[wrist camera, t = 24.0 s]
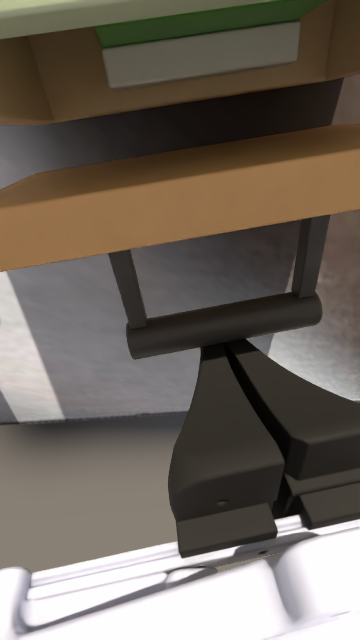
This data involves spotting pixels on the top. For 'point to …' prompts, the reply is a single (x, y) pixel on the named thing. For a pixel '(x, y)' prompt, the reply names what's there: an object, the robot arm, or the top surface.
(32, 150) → the top surface
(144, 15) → the cabinet
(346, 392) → the top surface
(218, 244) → the top surface
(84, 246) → the drawer
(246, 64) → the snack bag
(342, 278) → the top surface
